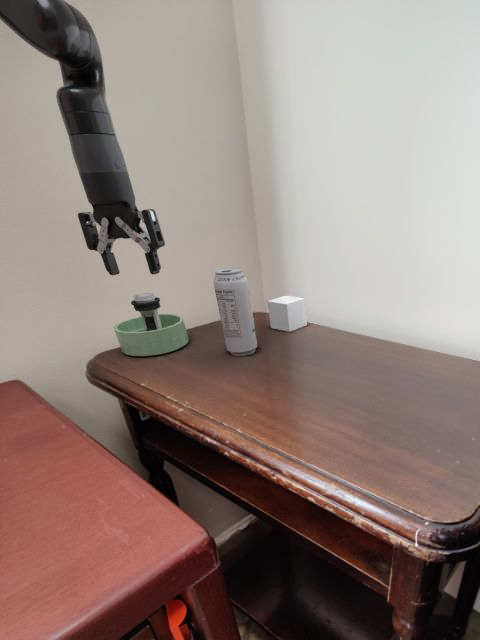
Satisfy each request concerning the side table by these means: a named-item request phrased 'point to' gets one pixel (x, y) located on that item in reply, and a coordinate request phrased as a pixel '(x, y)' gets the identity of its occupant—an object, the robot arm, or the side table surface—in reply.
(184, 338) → the bowl
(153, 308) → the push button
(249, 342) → the energy drink can
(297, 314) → the white cube
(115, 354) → the side table surface
